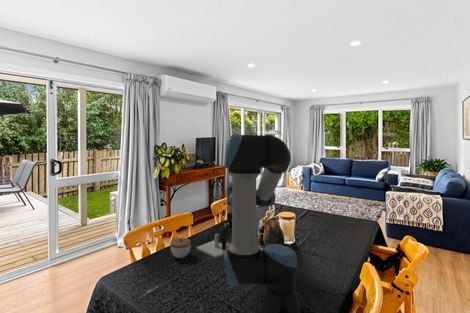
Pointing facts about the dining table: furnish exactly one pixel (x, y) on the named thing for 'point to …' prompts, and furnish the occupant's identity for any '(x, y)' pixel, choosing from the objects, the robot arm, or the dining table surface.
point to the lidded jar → (180, 247)
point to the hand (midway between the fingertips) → (233, 250)
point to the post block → (212, 247)
